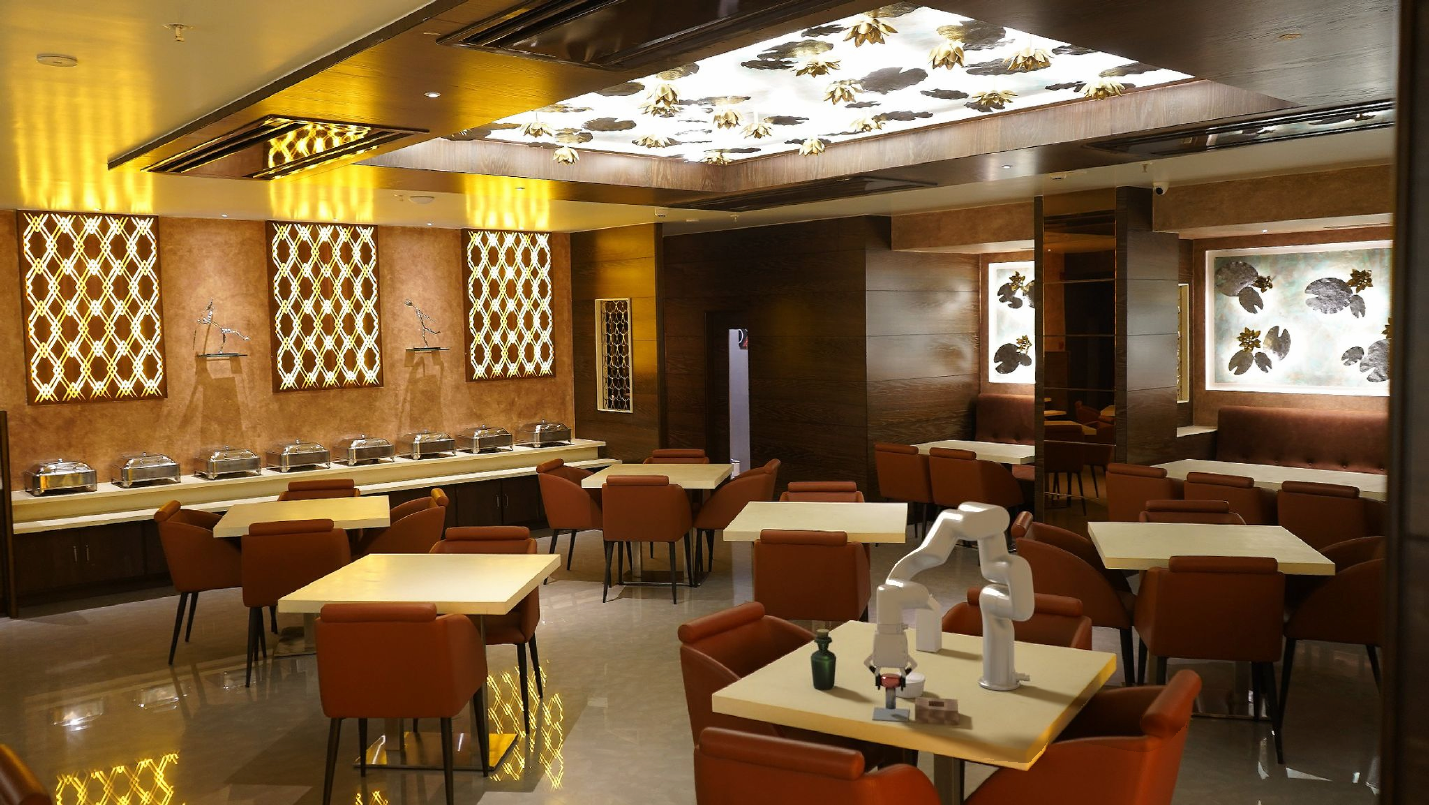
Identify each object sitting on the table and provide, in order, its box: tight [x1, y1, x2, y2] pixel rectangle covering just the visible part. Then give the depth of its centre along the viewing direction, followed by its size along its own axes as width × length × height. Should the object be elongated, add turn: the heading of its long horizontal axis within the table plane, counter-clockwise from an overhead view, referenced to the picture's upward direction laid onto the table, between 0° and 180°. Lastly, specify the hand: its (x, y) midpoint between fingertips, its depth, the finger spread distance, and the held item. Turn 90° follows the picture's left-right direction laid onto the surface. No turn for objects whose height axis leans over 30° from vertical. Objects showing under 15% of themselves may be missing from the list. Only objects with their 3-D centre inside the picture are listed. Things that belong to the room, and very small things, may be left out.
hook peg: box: [880, 672, 901, 709], centre depth 297 cm, size 6×6×9 cm
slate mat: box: [871, 706, 910, 723], centre depth 298 cm, size 10×10×1 cm
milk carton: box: [915, 594, 943, 653], centre depth 362 cm, size 7×7×19 cm
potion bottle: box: [809, 628, 837, 691], centre depth 324 cm, size 8×8×18 cm
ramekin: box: [892, 671, 926, 699], centre depth 316 cm, size 11×11×5 cm
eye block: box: [914, 696, 959, 726], centre depth 295 cm, size 12×10×4 cm
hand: (890, 688), depth 297 cm, fingers closed on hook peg, 6 cm apart
